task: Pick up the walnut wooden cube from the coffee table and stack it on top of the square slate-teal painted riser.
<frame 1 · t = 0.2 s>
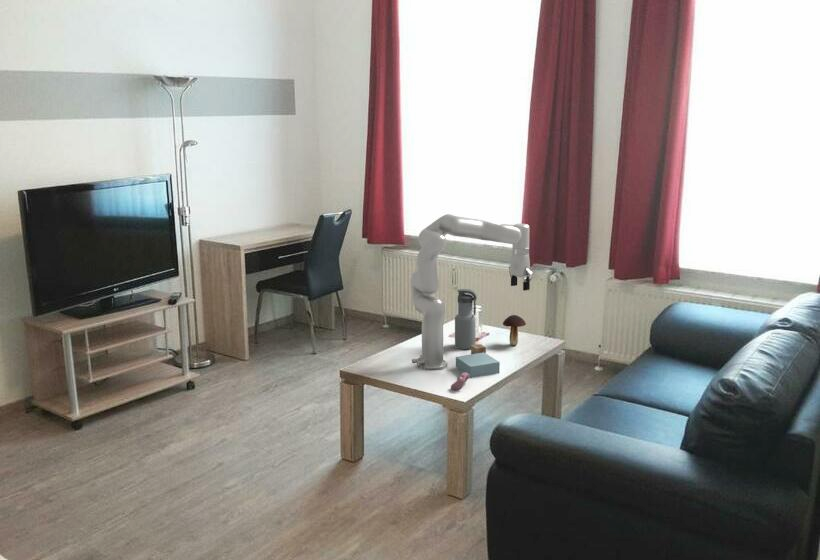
hand: (520, 287, 339), 31 cm above the table, tool pointing down, fingers open, 9 cm apart
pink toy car: (460, 387, 304), on the table
walnut cube: (478, 356, 340), on the table
riser: (477, 370, 322), on the table
water bottle: (465, 347, 354), on the table
decorative mushroom: (514, 345, 355), on the table
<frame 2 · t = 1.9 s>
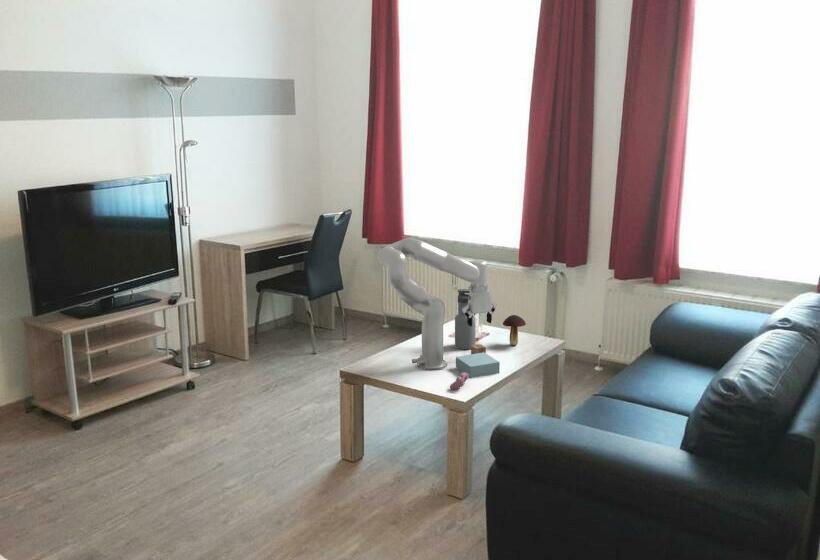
hand: (479, 324, 337), 15 cm above the table, tool pointing down, fingers open, 9 cm apart
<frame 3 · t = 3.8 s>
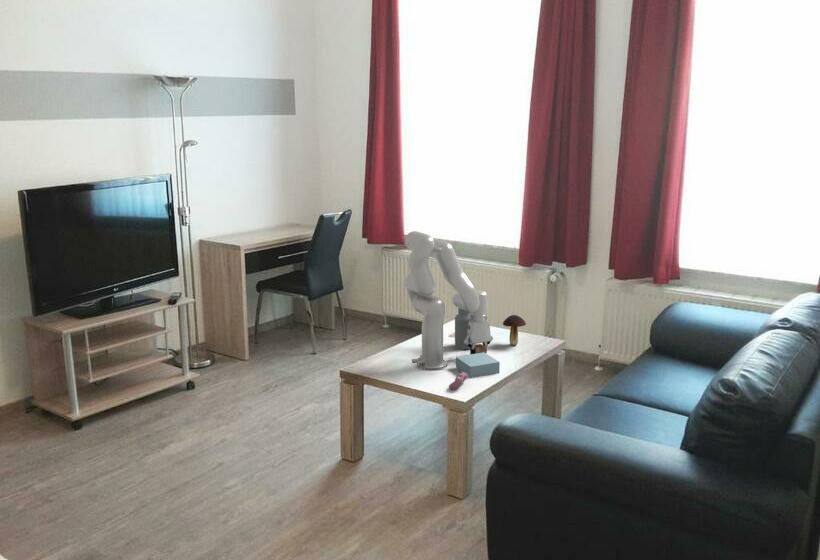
hand: (478, 355, 340), 0 cm above the table, tool pointing down, fingers closed on walnut cube, 5 cm apart
walnut cube: (478, 356, 340), on the table, touching gripper
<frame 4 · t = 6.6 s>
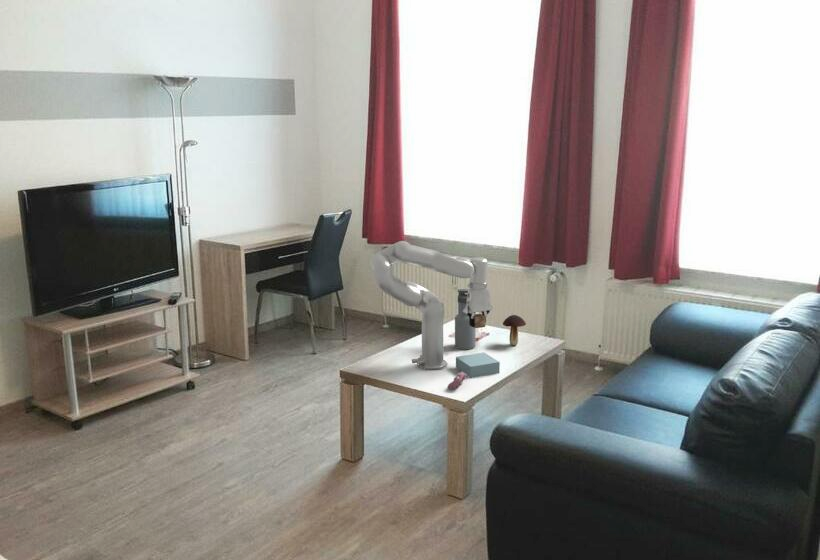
hand: (477, 325, 329), 17 cm above the table, tool pointing down, fingers closed on walnut cube, 4 cm apart
walnut cube: (477, 326, 329), point 17 cm above the table, touching gripper
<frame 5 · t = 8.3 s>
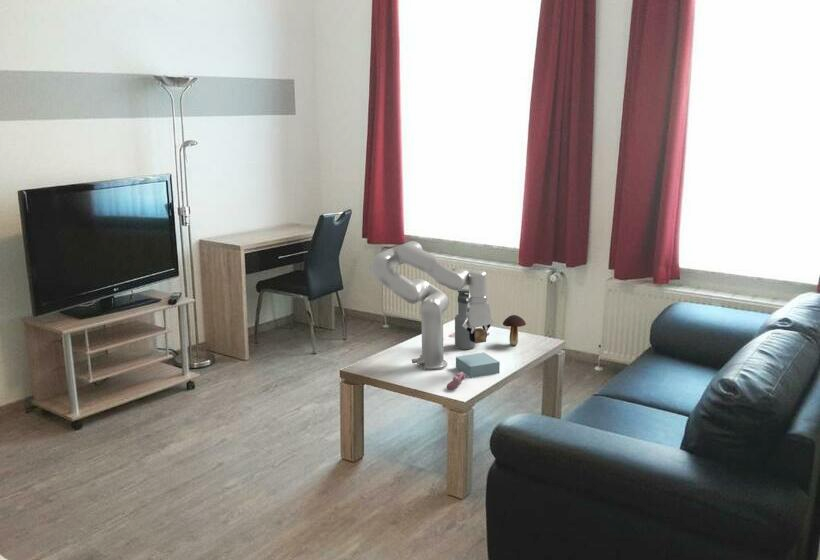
hand: (478, 339, 319), 14 cm above the table, tool pointing down, fingers closed on walnut cube, 4 cm apart
walnut cube: (478, 341, 319), point 13 cm above the table, touching gripper
when the fingers open (7 cm above the table, at t = 9.8 s): walnut cube drops 1 cm, resting on riser.
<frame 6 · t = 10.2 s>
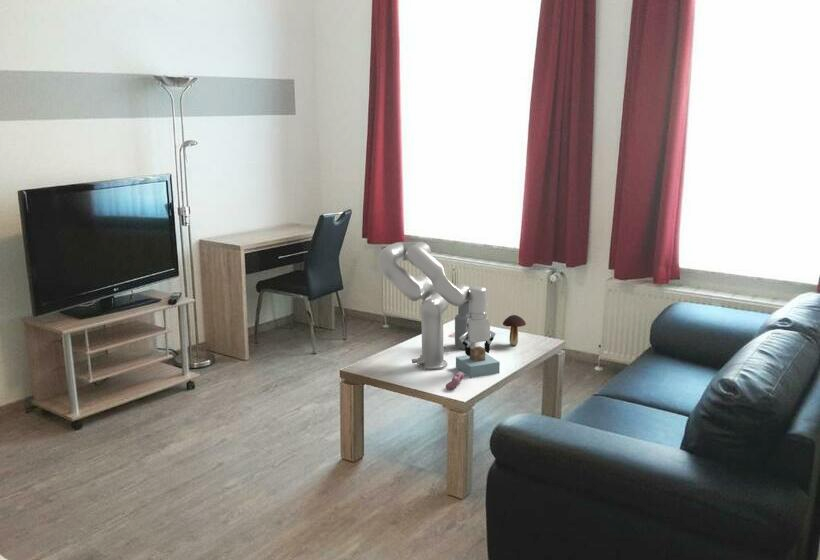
hand: (477, 353, 321), 8 cm above the table, tool pointing down, fingers open, 8 cm apart
walnut cube: (477, 359, 321), point 5 cm above the table, touching riser
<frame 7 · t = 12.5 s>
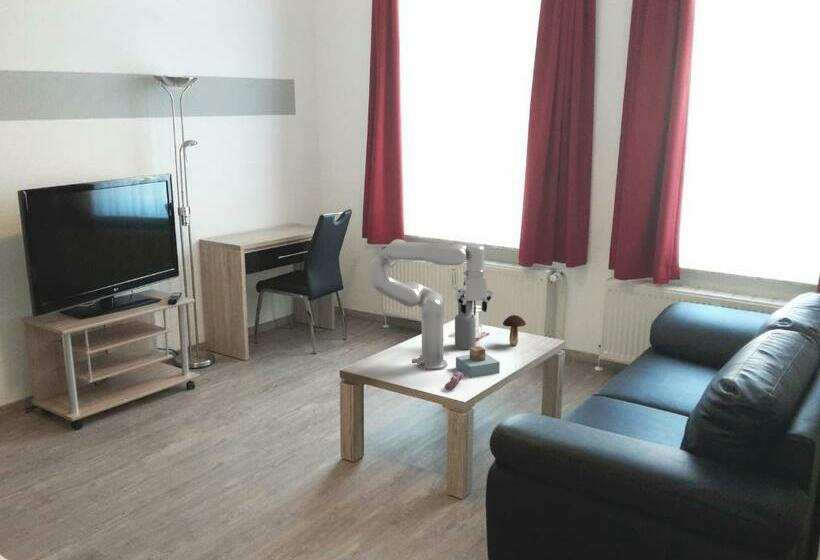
hand: (473, 312, 322), 25 cm above the table, tool pointing down, fingers open, 9 cm apart
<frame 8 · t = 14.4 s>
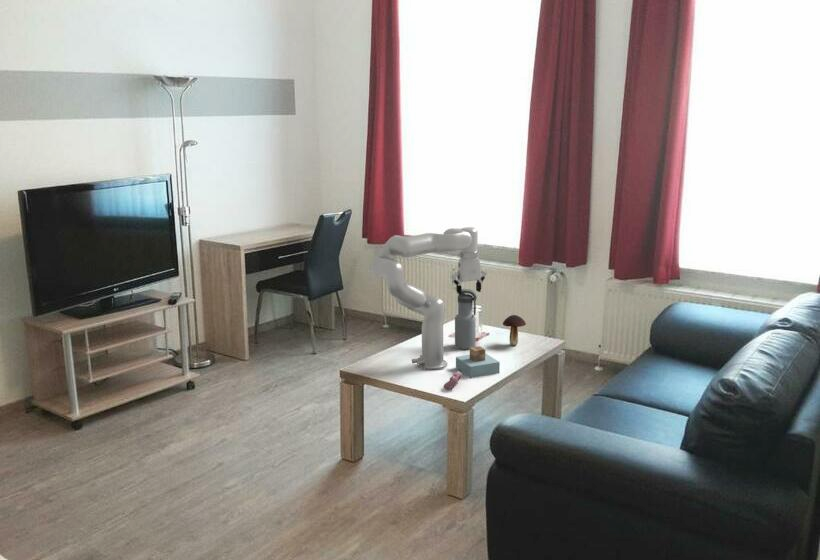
hand: (468, 292, 333), 30 cm above the table, tool pointing down, fingers open, 9 cm apart
at the end: walnut cube inside the target area on the riser (0.0 cm from its centre), point 5.0 cm above the riser's base; walnut cube touching riser; the gripper is holding nothing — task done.
